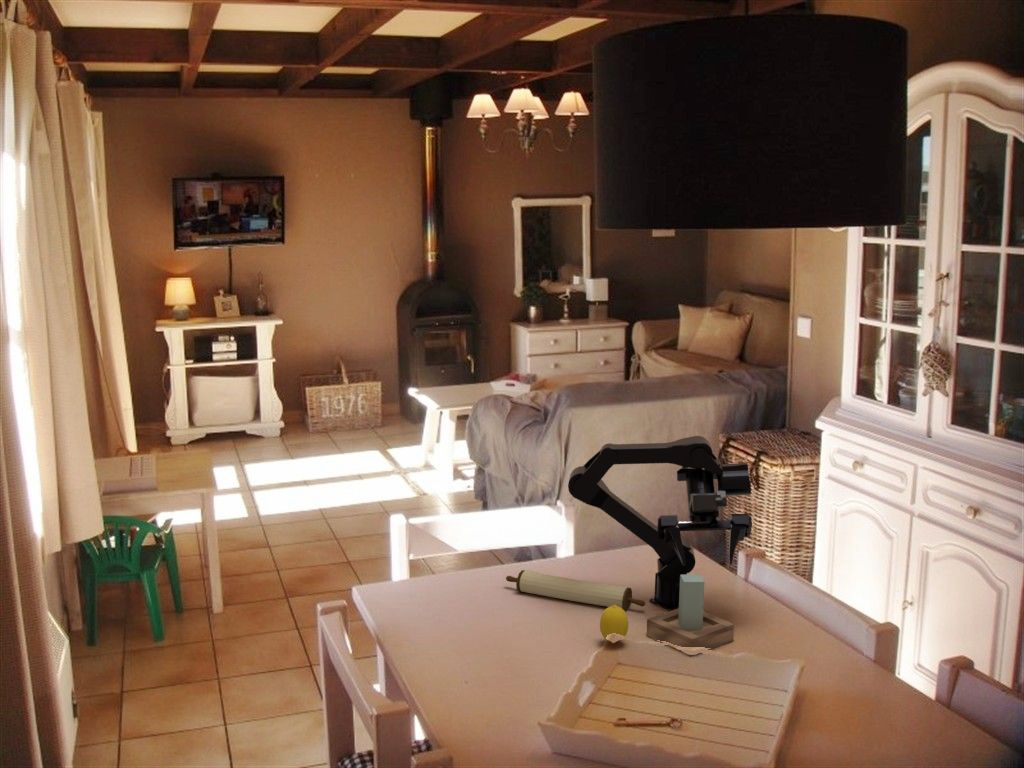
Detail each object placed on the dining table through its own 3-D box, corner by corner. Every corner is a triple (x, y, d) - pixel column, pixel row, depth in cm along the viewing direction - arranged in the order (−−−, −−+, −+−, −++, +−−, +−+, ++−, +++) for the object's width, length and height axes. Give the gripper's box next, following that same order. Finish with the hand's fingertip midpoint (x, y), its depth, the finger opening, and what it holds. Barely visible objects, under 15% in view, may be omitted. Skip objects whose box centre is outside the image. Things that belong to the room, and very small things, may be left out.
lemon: (626, 651, 199) (627, 611, 198) (597, 648, 200) (598, 609, 199) (629, 639, 204) (630, 600, 203) (601, 636, 205) (602, 598, 204)
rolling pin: (500, 592, 228) (500, 571, 228) (511, 584, 233) (511, 563, 233) (640, 618, 215) (641, 595, 214) (648, 609, 220) (649, 586, 219)
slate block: (678, 622, 207) (680, 574, 205) (698, 622, 207) (700, 574, 205) (681, 630, 203) (683, 581, 201) (702, 630, 203) (704, 581, 201)
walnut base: (646, 635, 206) (647, 618, 206) (688, 621, 214) (688, 605, 213) (691, 656, 197) (692, 639, 196) (733, 640, 204) (734, 624, 204)
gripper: (656, 477, 210) (661, 548, 201) (750, 475, 209) (759, 546, 200) (655, 503, 219) (660, 572, 211) (745, 501, 218) (753, 570, 209)
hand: (707, 564), depth 207 cm, fingers open, 9 cm apart
